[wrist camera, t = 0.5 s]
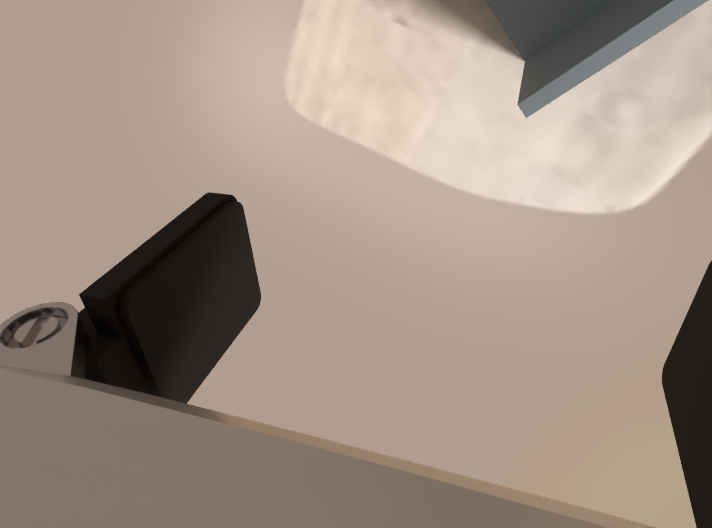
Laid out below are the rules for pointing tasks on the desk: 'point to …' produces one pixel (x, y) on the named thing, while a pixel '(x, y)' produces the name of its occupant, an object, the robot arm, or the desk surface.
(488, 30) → the desk surface
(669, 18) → the l-shaped stand
